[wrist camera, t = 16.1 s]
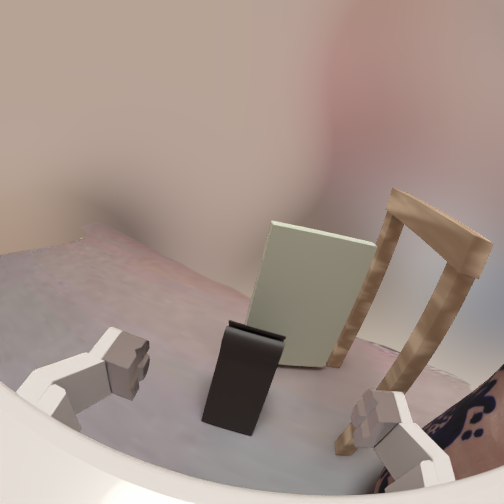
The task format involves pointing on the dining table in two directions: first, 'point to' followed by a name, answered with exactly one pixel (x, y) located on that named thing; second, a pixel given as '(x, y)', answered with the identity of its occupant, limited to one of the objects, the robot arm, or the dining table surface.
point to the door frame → (442, 300)
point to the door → (307, 289)
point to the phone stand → (242, 377)
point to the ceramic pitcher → (469, 432)
